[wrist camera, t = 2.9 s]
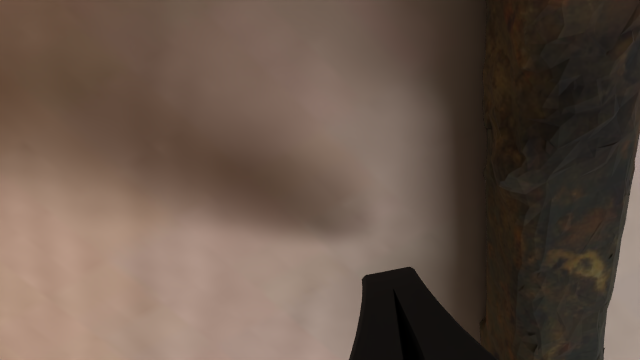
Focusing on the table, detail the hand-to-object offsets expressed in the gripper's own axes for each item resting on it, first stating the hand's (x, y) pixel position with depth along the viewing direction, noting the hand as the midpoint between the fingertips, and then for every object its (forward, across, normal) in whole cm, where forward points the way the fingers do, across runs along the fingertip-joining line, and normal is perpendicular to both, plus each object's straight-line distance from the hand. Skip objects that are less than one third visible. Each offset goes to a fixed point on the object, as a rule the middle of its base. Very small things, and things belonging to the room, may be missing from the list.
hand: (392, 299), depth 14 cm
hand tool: (+3, -5, 0) cm, 6 cm away
